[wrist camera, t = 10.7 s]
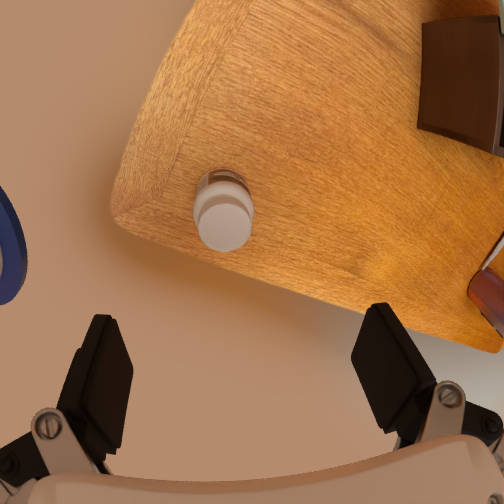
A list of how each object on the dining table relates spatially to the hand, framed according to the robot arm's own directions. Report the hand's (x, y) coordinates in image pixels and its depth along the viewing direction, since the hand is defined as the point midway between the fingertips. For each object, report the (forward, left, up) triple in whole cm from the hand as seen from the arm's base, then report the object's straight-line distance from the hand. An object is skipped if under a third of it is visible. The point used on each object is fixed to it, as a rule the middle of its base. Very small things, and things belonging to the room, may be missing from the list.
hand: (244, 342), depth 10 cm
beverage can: (+39, -13, -18) cm, 44 cm away
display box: (+26, +13, -17) cm, 34 cm away
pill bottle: (0, 0, -18) cm, 18 cm away
